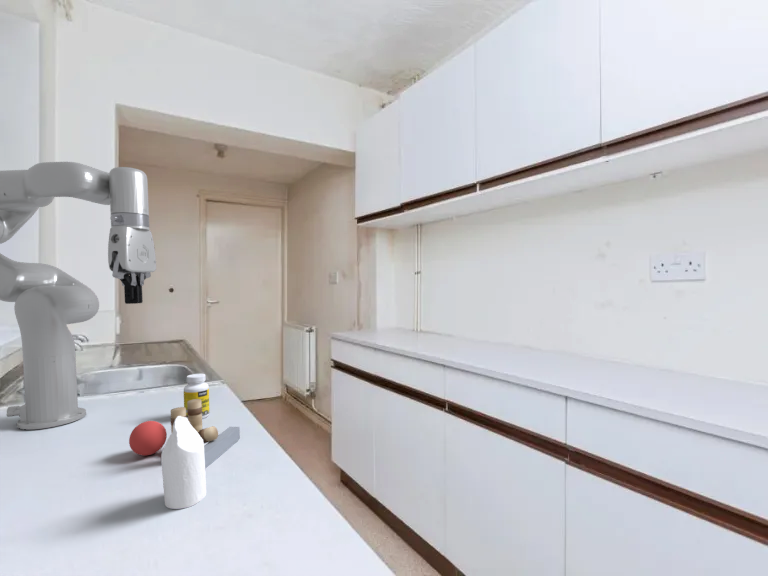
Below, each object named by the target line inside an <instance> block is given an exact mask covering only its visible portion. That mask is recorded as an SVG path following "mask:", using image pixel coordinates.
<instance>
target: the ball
mask: <svg viewBox="0 0 768 576" xmlns="http://www.w3.org/2000/svg"><path fill="white" fill-rule="evenodd" d="M167 435H168V434H167V430H166V428H165V426H164V425H163V424H162V423H160V422H159V421H155V420H147V421H142V422H141V423H139V424H138V425H136V426H135V427H134V428H133V429H132V431H131V433H130V435H129V437H128V438H129V440H128V441H129V442H128V443H129V447H130V449H131V451H132V452H133V453H135V454H137V455H139V456H143V457H144V456H151V455H153V454H155V453H157V452H159V451H160V450H161V449H162V448H164V447H163V446H165V445H166V442H167Z"/></svg>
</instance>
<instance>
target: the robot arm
mask: <svg viewBox="0 0 768 576" xmlns="http://www.w3.org/2000/svg"><path fill="white" fill-rule="evenodd" d="M148 182H149V180H148V176H147V174H146V173H145V172H144V171H143V170H141V169H138V168H135V167H134V168H133V167H130V166H129V167H127V166H117V167H113V168H112V169H110V170H109V172H107V171H103V170H100V169H97V168H95V167H93V166H89V165H87V164H83V163H80V162H74V161H49V162H48V161H47V162H39V163H35V164H34V165H32V166H30V167H29V168H28V169H13V170H9V169H8V170H0V245H1V244H4V243H6V242H8V241H9V240H11V239H12V238H13V237H14V236H15V235H16V234H17V232H19V230H20V229H22V228H23V226H24V225H26V223H27V222H28V221H29V220H30V219H31V218H32V217H33V216H34V215H35V214H36V213H37V211H38V210H39V208H44V207H46V206H50V205H51V203H52V202H53V201H54V199H55V198H64V197H65V198H74V199H78V200H83V201H86V202H91V203H95V204H98V205H99V204H100V205H104V206H109V207H110V208H109V209H110V210H109V211H110V218H109V219H110V229H109V234H108V241H107V242H108V244H107V246H108V247H107V261H108V268H109V270H110V271H111V272H112V278H115V279H118V280H120V281H121V286H122V287H123V291H124V292H123V293H124V304H125V305H129V304H130V305H133V304H134V305H135V304H143V286H144V285H145V280H146V279H148V278H151V277H152V273H154V272H155V271H156V270H157V256H156V248H155V242H154V237H153V234H152V230H151V229H150V208H149V187H148V186H149V185H148V184H149V183H148ZM0 301H2V302H7V303H14V308H13V309H14V315H15V319H16V322H17V325H18V327H19V332H20V338H21V347H22V363H23V364H22V365H23V383H24V386H23V387H24V388H23V389H24V404H22V405H13V406H8V407H7V409H6V417H7V418H10V417H17V416H18V418H19V420H17V421H16V427H17V428H18V429H19V428H20V430H24V429H26V430H30V431H31V430H43V429H49V428H54V427H59V426H64V425H66V424H71V423H74V422H76V421H78V420H81V419H83V418H84V417H85V416H86V415H87V410H86V408H83V407H79V404H78V403H79V402H78V382H77V381H78V380H77V377H78V376H77V360H76V356H77V355H76V344H75V340H74V336H73V335H72V332H71V331H70V329H69V327H68V326H67V325H73V324H78V323H84V322H87V321H89V320H91V319H92V318H94V317H95V316H96V315H97V314H98V312H99V309H100V301H99V298H98V296H97V294H96V293H95V292H94V290H92V289H91V288H90V287H88V286H87V285H86V284H84V283H83V282H81V281H80V280H78V279H77V278H75V277H73V276H71V275H70V274H68V273H66V272H65V271H63V270H62V269H61V268H58V267H56V266H53V265H51V264H47V263H38V262H21V261H16V260H13V259H11V258H9V257H8V256H5V255H4V254H2V253H1V252H0Z"/></svg>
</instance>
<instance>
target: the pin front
mask: <svg viewBox="0 0 768 576" xmlns="http://www.w3.org/2000/svg"><path fill="white" fill-rule="evenodd" d="M197 432H198V434H199V435H200V437H201V438H202V439H203V442H204V444H207V443H208V442H210V441H212V440H215V439H217V437H218V435H219V431H218V428H217V427H216V426H213V425H212V426H209V427H205V428H202V430H200V431H197Z"/></svg>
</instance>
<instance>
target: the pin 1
mask: <svg viewBox="0 0 768 576" xmlns="http://www.w3.org/2000/svg"><path fill="white" fill-rule="evenodd" d="M178 416H181V417H186V408H185V407H184V406H180V407H175V408H174V407H173V408H172V409H170V425H171V426H170V428H171V429H170V430H171V434H172V432H173V424H174V421H175V419H176V418H177V417H178Z"/></svg>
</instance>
